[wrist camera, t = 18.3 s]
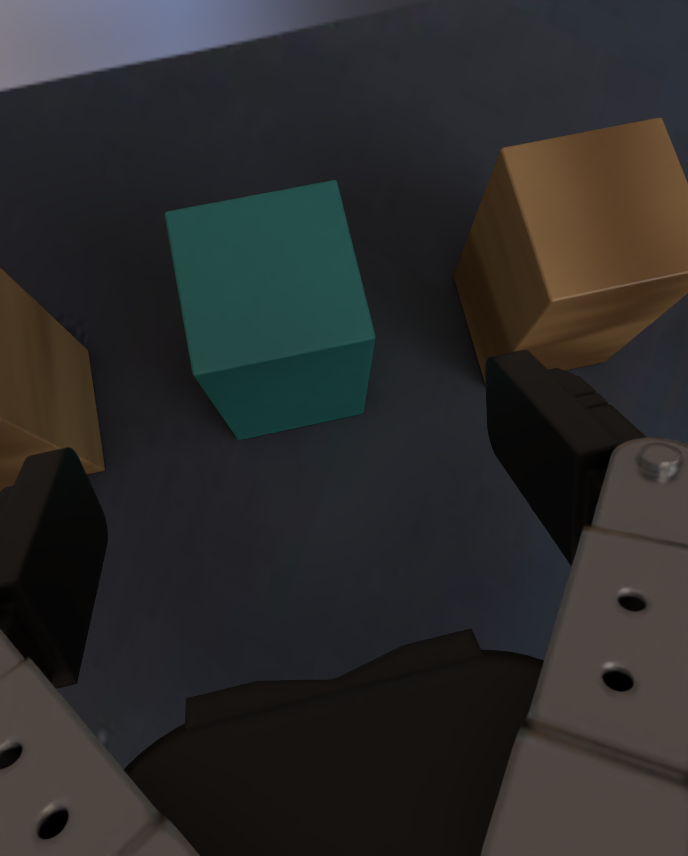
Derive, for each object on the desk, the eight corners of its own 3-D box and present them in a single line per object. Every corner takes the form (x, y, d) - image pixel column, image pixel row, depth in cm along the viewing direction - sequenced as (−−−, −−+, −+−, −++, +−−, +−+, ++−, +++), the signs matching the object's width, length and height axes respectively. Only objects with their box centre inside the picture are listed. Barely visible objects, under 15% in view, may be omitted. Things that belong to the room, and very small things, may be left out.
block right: (485, 388, 25) (550, 301, 18) (452, 274, 27) (500, 147, 19) (605, 362, 26) (722, 266, 18) (568, 251, 27) (662, 115, 19)
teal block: (237, 440, 25) (192, 376, 17) (215, 322, 26) (163, 210, 18) (364, 414, 25) (376, 338, 17) (336, 298, 26) (336, 178, 18)
